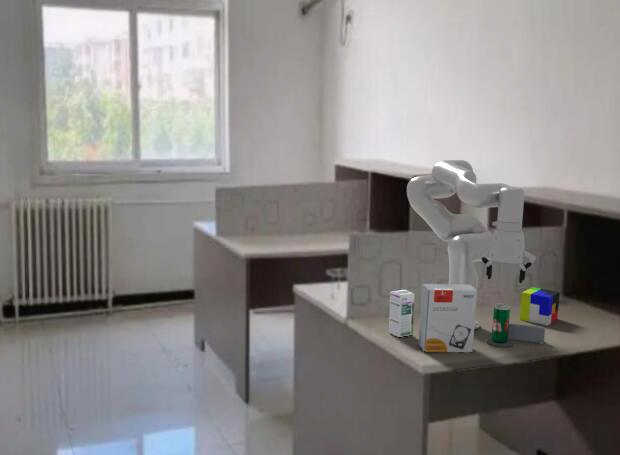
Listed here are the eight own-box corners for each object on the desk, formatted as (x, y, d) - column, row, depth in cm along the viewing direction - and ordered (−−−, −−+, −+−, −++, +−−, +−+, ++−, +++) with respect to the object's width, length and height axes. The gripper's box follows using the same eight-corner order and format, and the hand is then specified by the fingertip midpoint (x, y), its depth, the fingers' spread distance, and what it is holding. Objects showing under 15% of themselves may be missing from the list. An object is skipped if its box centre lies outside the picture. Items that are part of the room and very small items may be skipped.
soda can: (488, 339, 243) (490, 303, 240) (500, 338, 245) (503, 302, 243) (497, 344, 238) (500, 307, 236) (510, 342, 240) (513, 306, 238)
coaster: (485, 345, 239) (485, 343, 239) (488, 337, 246) (489, 336, 246) (511, 348, 236) (511, 346, 236) (514, 341, 243) (514, 339, 243)
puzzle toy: (547, 325, 262) (549, 297, 260) (519, 319, 268) (521, 292, 266) (557, 319, 270) (559, 292, 268) (530, 313, 276) (532, 287, 274)
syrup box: (399, 338, 243) (401, 294, 241) (388, 333, 248) (390, 290, 246) (413, 336, 246) (415, 292, 244) (401, 331, 251) (403, 288, 249)
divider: (492, 337, 247) (493, 322, 246) (493, 334, 250) (494, 320, 249) (543, 344, 241) (544, 329, 240) (544, 341, 244) (545, 326, 243)
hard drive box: (423, 353, 230) (427, 289, 226) (417, 345, 237) (421, 283, 234) (473, 353, 232) (477, 289, 228) (466, 344, 239) (470, 283, 236)
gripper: (479, 225, 235) (475, 279, 238) (536, 231, 229) (532, 286, 232) (483, 222, 242) (479, 274, 245) (539, 227, 235) (534, 281, 238)
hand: (505, 280), depth 238 cm, fingers open, 9 cm apart
